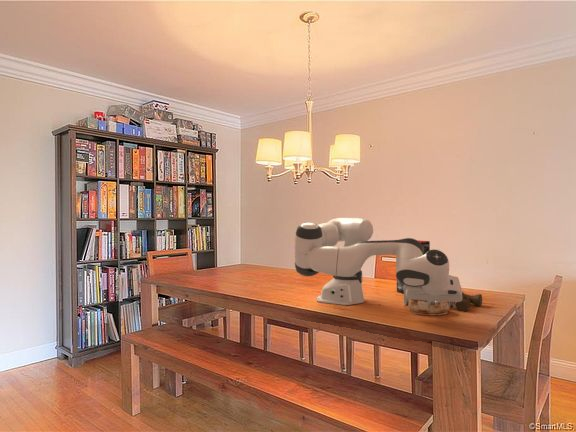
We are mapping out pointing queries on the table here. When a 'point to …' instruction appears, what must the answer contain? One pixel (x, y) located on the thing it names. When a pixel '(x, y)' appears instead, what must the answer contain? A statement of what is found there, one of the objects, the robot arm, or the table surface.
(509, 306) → the table surface
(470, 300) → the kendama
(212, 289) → the table surface
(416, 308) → the trinket box
